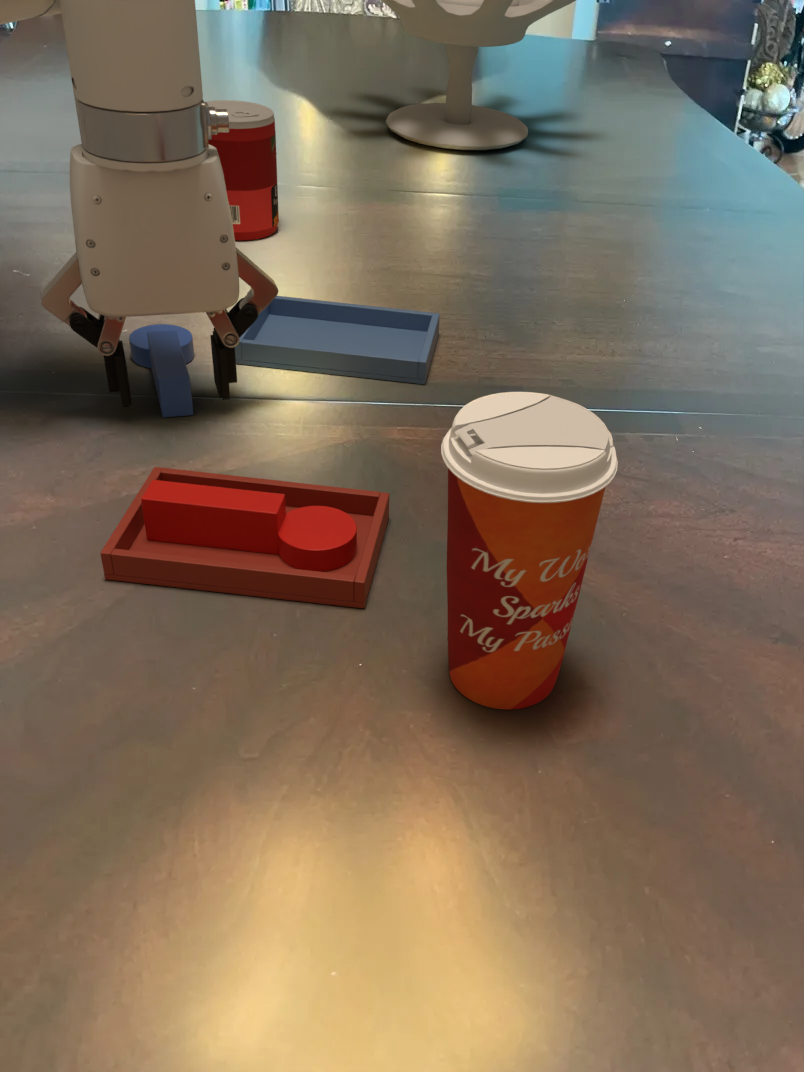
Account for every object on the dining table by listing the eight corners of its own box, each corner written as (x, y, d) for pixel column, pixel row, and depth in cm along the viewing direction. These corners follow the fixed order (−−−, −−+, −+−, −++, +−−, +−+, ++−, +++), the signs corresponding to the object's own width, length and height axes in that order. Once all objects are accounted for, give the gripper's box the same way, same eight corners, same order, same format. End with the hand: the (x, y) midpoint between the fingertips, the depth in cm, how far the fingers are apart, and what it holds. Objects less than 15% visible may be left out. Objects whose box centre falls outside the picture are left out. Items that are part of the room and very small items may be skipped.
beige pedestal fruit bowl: (381, 182, 121) (385, -105, 104) (294, 103, 145) (286, -142, 128) (634, 168, 133) (676, -91, 116) (515, 97, 157) (536, -126, 140)
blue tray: (234, 363, 83) (233, 341, 82) (264, 315, 91) (262, 293, 90) (425, 384, 83) (426, 362, 82) (438, 334, 91) (439, 313, 89)
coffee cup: (462, 741, 53) (486, 486, 44) (405, 641, 59) (416, 397, 49) (606, 704, 56) (659, 458, 47) (539, 612, 62) (573, 377, 52)
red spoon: (139, 552, 63) (132, 510, 61) (164, 509, 66) (159, 468, 64) (349, 576, 62) (349, 534, 60) (362, 531, 66) (363, 490, 64)
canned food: (292, 235, 106) (288, 117, 99) (217, 246, 102) (207, 124, 95) (259, 211, 111) (253, 97, 103) (186, 220, 107) (175, 102, 100)
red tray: (104, 579, 61) (99, 552, 60) (157, 491, 68) (154, 466, 67) (364, 608, 61) (364, 582, 60) (388, 517, 68) (389, 492, 67)
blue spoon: (211, 413, 77) (208, 376, 75) (143, 419, 75) (138, 381, 74) (190, 340, 86) (186, 305, 84) (129, 344, 84) (123, 308, 82)
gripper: (272, 113, 70) (283, 364, 82) (-8, 113, 65) (46, 381, 76) (294, 145, 65) (303, 409, 76) (-9, 149, 60) (49, 431, 71)
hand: (174, 393), depth 76 cm, fingers open, 6 cm apart
